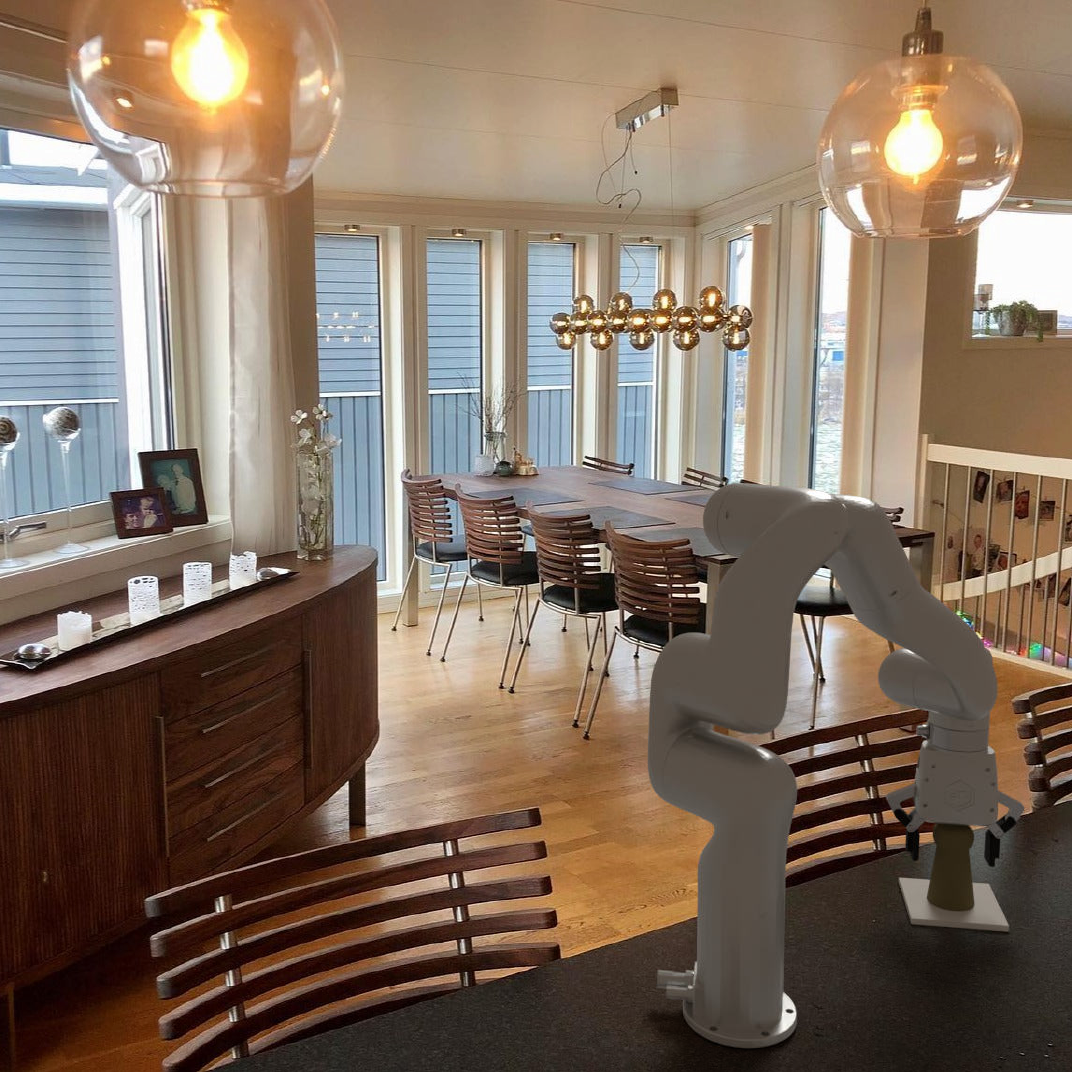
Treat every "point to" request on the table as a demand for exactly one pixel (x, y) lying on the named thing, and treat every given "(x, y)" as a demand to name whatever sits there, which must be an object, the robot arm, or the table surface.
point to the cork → (952, 868)
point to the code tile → (979, 917)
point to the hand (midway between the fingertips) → (951, 859)
